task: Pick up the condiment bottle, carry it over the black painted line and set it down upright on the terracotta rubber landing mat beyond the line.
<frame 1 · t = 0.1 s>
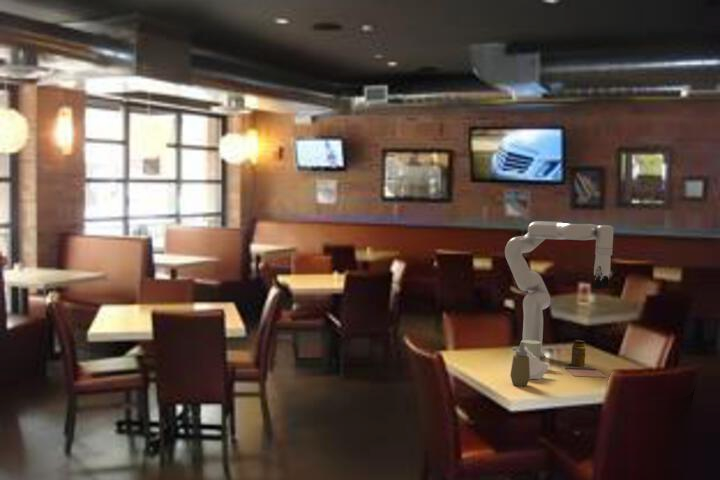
hand: (601, 288, 365), 37 cm above the table, tool pointing down, fingers open, 9 cm apart
condiment: (576, 366, 367), on the table
throw line: (580, 369, 359), on the table
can: (529, 366, 362), on the table
squeeze bottle: (519, 385, 325), on the table
landing mat: (585, 373, 351), on the table
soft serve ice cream: (526, 377, 340), on the table
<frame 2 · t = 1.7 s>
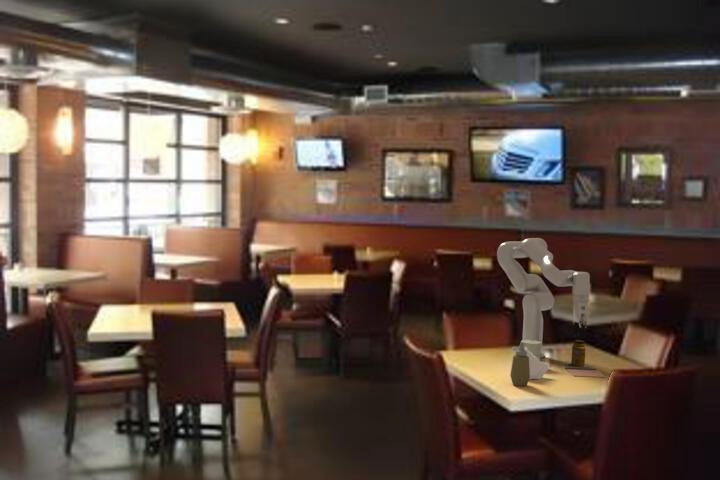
hand: (579, 334, 366), 15 cm above the table, tool pointing down, fingers open, 9 cm apart
nothing on the table moved.
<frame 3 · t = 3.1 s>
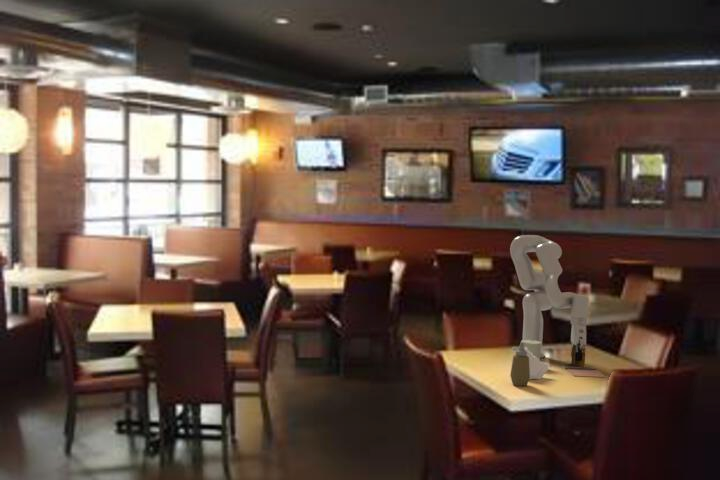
hand: (576, 358, 367), 3 cm above the table, tool pointing down, fingers closed on condiment, 6 cm apart
condiment: (576, 366, 367), on the table, touching gripper
everything else where it was.
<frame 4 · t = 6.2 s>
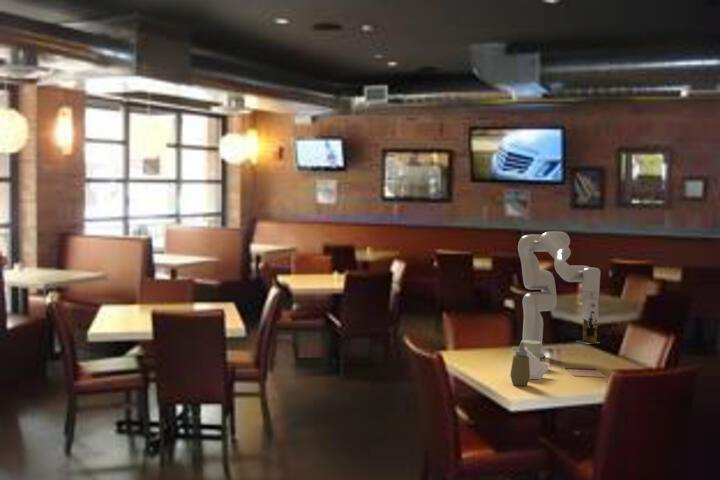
hand: (588, 334, 350), 18 cm above the table, tool pointing down, fingers closed on condiment, 6 cm apart
condiment: (587, 342, 350), point 14 cm above the table, touching gripper
everything else where it was.
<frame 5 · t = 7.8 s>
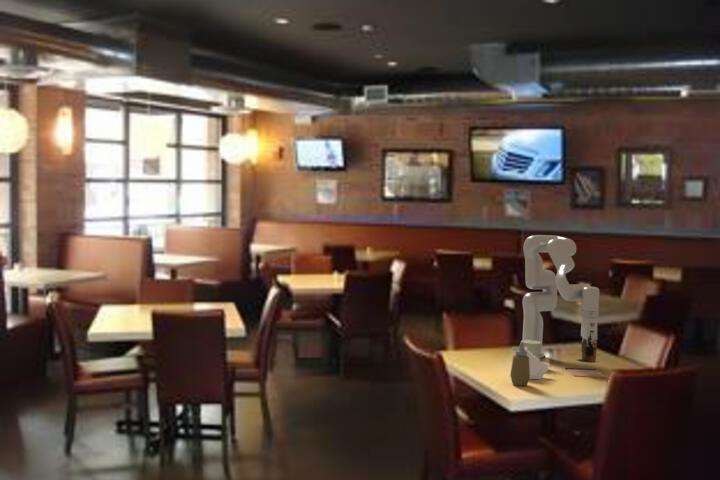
hand: (587, 353, 350), 9 cm above the table, tool pointing down, fingers closed on condiment, 6 cm apart
condiment: (587, 361, 350), point 6 cm above the table, touching gripper
everything else where it was.
when the fingers open (5 cm above the table, at t = 9.1 s): condiment drops 1 cm, resting on landing mat.
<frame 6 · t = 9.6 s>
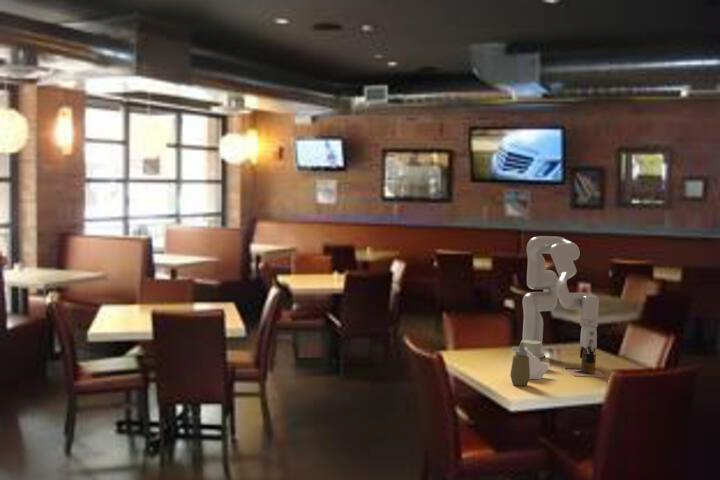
hand: (586, 360, 351), 6 cm above the table, tool pointing down, fingers open, 9 cm apart
condiment: (586, 373, 351), resting on landing mat
everything else where it was.
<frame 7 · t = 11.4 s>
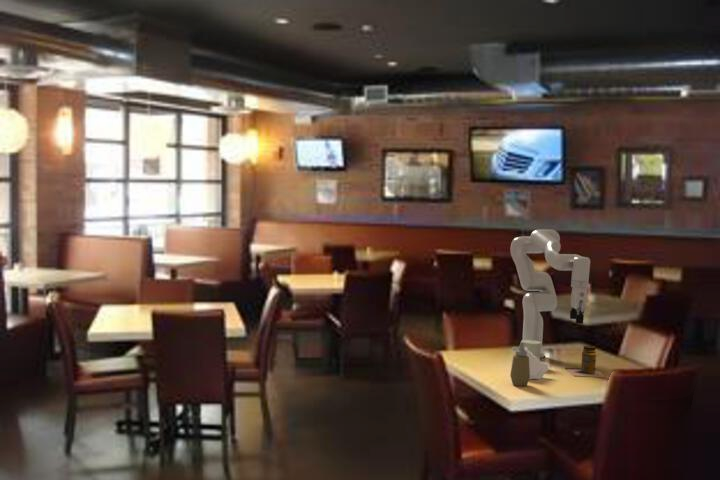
hand: (576, 321, 356), 23 cm above the table, tool pointing down, fingers open, 9 cm apart
nothing on the table moved.
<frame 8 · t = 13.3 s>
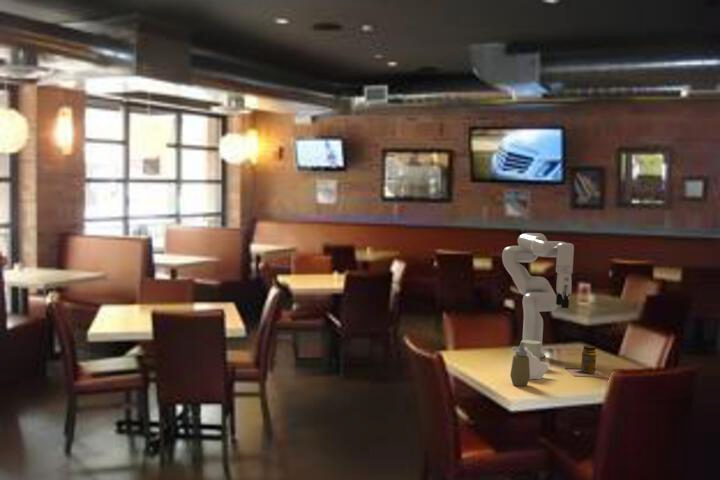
hand: (562, 306, 362), 28 cm above the table, tool pointing down, fingers open, 9 cm apart
nothing on the table moved.
at the end: condiment inside the target area (0.2 cm from its centre), resting on landing mat; condiment tilted 0°; the gripper is holding nothing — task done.
